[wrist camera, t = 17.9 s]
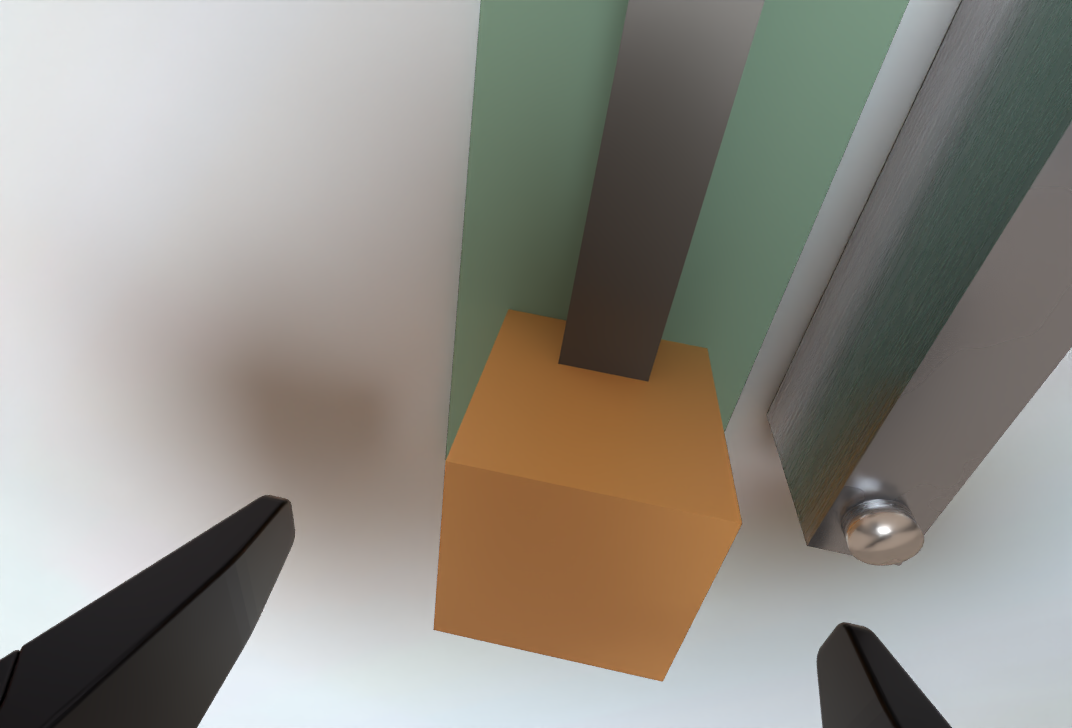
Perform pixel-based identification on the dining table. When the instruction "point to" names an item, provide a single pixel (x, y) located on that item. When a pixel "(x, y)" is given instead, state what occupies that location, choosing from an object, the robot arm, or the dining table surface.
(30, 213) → the dining table surface
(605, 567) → the plug
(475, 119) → the pad
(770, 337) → the dining table surface
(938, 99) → the pair of grey bars
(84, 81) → the dining table surface
